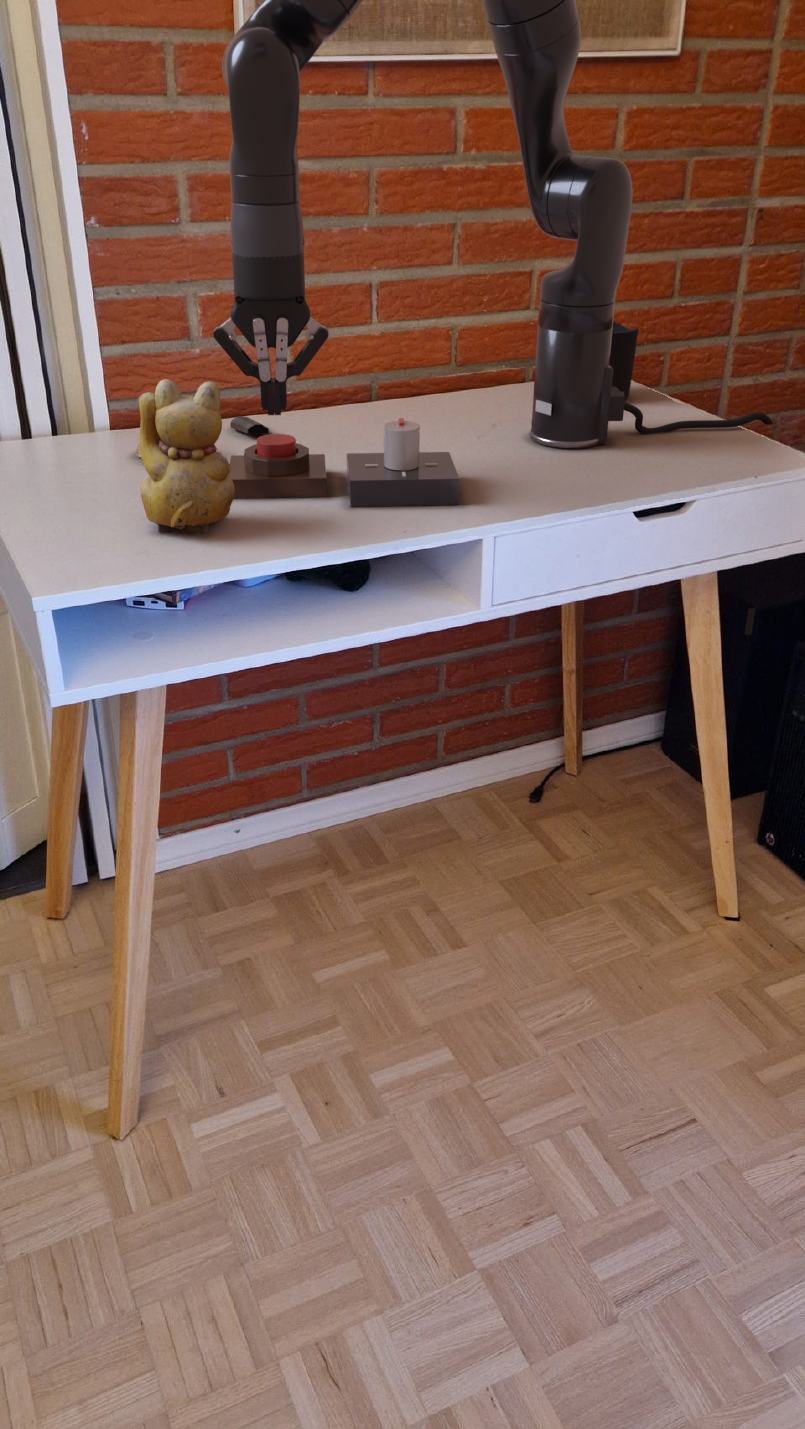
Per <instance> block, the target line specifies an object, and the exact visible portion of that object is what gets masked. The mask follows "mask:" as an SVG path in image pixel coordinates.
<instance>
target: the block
mask: <svg viewBox="0 0 805 1429" xmlns="http://www.w3.org/2000/svg"><path fill="white" fill-rule="evenodd" d="M229 426H230V428H231V429H234V430H236V431H238V432H242V433H244V434H247V435H269V432H270V430H269V427H267V426H265V425H264V424H261V423H260V422H258V421H256V420H255V419H252V418H250V417H248V416H242V415H240V416H234V418H233V419H232V420H231V421H230V424H229Z"/></svg>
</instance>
